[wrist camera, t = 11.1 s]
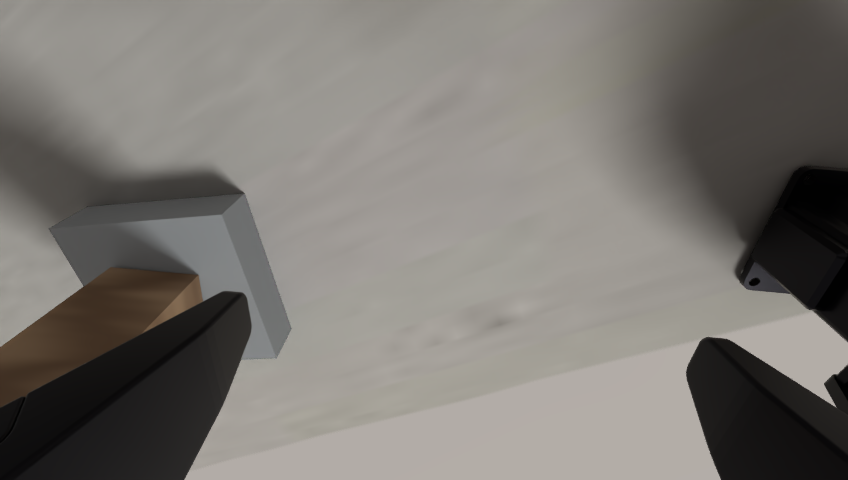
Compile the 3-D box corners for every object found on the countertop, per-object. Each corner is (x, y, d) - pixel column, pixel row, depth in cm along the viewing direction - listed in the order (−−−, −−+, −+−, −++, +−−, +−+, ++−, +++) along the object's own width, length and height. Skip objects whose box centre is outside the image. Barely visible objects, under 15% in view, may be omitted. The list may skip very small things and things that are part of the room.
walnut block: (198, 274, 22) (-78, 557, 10) (209, 343, 24) (-11, 649, 12) (110, 267, 22) (-271, 544, 10) (128, 337, 24) (-173, 638, 12)
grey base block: (249, 189, 23) (221, 214, 20) (294, 323, 27) (276, 358, 24) (93, 203, 24) (48, 228, 21) (161, 329, 28) (130, 363, 25)
